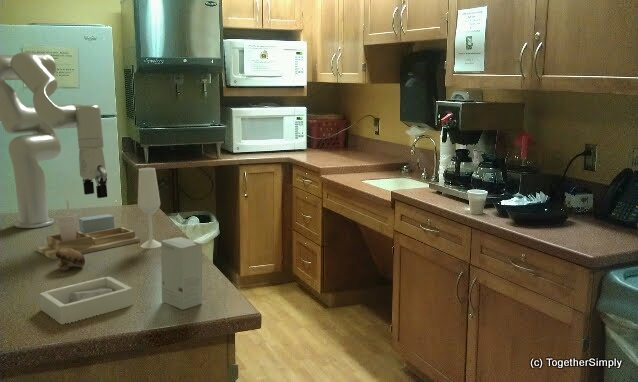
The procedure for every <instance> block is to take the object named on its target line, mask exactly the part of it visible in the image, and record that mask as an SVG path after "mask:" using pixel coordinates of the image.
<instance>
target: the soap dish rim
mask: <svg viewBox="0 0 638 382" xmlns="http://www.w3.org/2000/svg"><path fill="white" fill-rule="evenodd" d="M105 287H109V288H111V289H112V291H113V292H110V293H107V294H103V295H99V296H95V297H91V298H87V299H84V300H80V301H76V302H72V303H70V297H71V294H72V292H80V291H84V290H91V289H98V288H105ZM133 297H134V296H133V287H131V286H129V285H127V284H126V283H123V282H121V281H119V280H117V279H116V278H113V277H111V276H104V277H100V278H94V279H90V280H87V281H83V282H78V283H74V284H70V285H66V286H61V287H57V288H54V289H50V290H46V291H44V292H39V301H40V308H41V309H40V310H41V311H42V312H43V313H45V314H46V315H47V316H49V317H51V319H53V320H54V319H55V320H54V321H56V322H57V323H59V324H60V325H61V324H63V325H66V324H68V323H69V324H72V323H71V322H73V323H75V321H76V322H79V321H78V320H80V321H83V320H86V319H85V318H87V319H90V318H93V316H94V317H96V315H97V316H100V314H101V315H104V314H107V313H110V312H114V311H117V310H122V309H126V308H128V307H130V306H133V305H134V298H133ZM89 317H90V318H89ZM82 319H83V320H82ZM65 323H66V324H65Z"/></svg>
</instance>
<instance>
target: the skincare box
mask: <svg viewBox="0 0 638 382" xmlns="http://www.w3.org/2000/svg"><path fill="white" fill-rule="evenodd" d="M160 243H161V248H160V249H161V253H160V255H161V257H160V258H161V259H160V260H161V261H160V262H161V263H160V264H161V302H162V303H164V304H166V305H170V306H172V307H175V308H178V309H179V310H180V311H181V310H182V311H183V310H186V309H190V308H194V307H196V306H199V305H202V304H203V285H202V284H203V264H202V263H203V259H202V258H203V250H202V249H203V248H202V247H203V244H202V243H200V242H197V241H194V240H193V239H190V238H185V237H183V236H178V237H177V236H176V237H173V238H168V239H162V240H160Z"/></svg>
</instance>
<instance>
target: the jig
mask: <svg viewBox="0 0 638 382" xmlns="http://www.w3.org/2000/svg"><path fill="white" fill-rule="evenodd" d="M46 242H47V244H44V245H39V246H36V252H38V253H41V254H42V255H44V256H46V257H47V258H49V259H51V260H53V261H54V260H59V259H58V258H57V257H56V252H57V251H58V250H60V249H62V248H70V249H73V250H76V251H79V252H80V253H81V254H83V255H84V254H89V253H93V252H98V251H102V250H107V249H112V248H116V247H121V246H126V245H130V244H136V243H139V242H141V240H140V237H138V236H136V231H134V230H132V229H129V228H126V227H123V226H119V227H118V226H117V227H114V228H113V229H107V230H102V231H97V232H91V233H86V234H84V233H82V232H80V230H77V236H76V239H72V240H67V241H62V240H61V236H60V233H59V234H54V235H48V236H46Z"/></svg>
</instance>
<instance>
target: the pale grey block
mask: <svg viewBox="0 0 638 382" xmlns="http://www.w3.org/2000/svg"><path fill="white" fill-rule="evenodd" d="M78 223H79V224H78V225H79V226H78V227H79V231H80V232H82V233H84V234H86V233H91V232H97V231H102V230H107V229H113V228H115V218H114V215H112V214H111V213H105V214H99V215H93V216H84V217H78Z"/></svg>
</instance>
